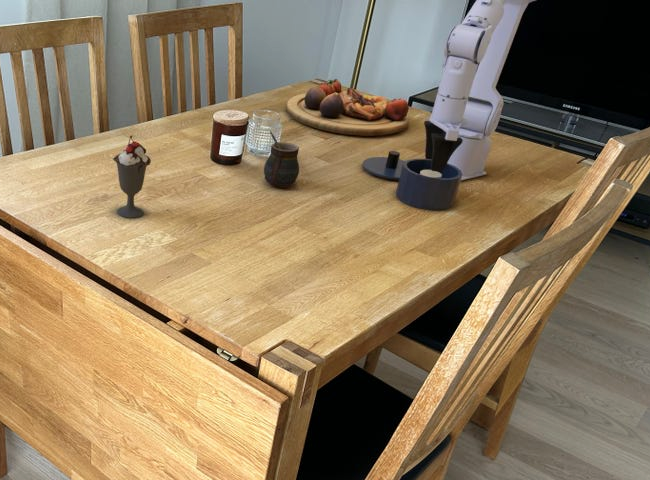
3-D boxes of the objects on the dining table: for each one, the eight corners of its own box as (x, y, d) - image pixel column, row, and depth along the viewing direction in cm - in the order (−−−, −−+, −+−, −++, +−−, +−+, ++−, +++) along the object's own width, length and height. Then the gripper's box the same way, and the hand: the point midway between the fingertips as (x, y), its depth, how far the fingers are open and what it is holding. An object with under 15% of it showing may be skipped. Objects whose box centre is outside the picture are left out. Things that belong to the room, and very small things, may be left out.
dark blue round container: (421, 184, 155) (429, 155, 152) (464, 204, 148) (474, 174, 144) (384, 193, 150) (391, 163, 146) (427, 214, 142) (436, 183, 139)
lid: (388, 158, 167) (392, 140, 165) (430, 177, 159) (435, 158, 157) (349, 166, 161) (353, 147, 159) (391, 186, 153) (396, 166, 151)
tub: (424, 191, 151) (431, 168, 148) (439, 199, 148) (446, 175, 145) (409, 194, 149) (416, 171, 146) (424, 202, 146) (431, 178, 143)
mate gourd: (289, 194, 146) (297, 145, 140) (254, 184, 149) (261, 136, 143) (302, 183, 151) (310, 135, 146) (268, 174, 154) (275, 127, 148)
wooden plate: (430, 122, 192) (438, 90, 188) (366, 147, 173) (374, 112, 168) (329, 93, 210) (334, 63, 205) (261, 112, 190) (265, 80, 185)
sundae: (121, 222, 130) (123, 139, 121) (106, 207, 135) (107, 127, 126) (154, 217, 133) (158, 136, 124) (138, 203, 138) (141, 124, 129)
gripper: (483, 108, 131) (461, 180, 138) (466, 86, 142) (446, 154, 150) (444, 104, 131) (424, 176, 139) (429, 83, 143) (412, 150, 151)
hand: (433, 164), depth 145 cm, fingers open, 6 cm apart
